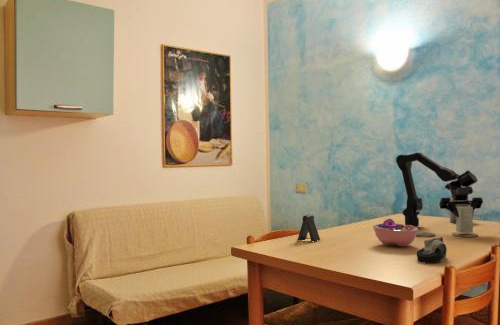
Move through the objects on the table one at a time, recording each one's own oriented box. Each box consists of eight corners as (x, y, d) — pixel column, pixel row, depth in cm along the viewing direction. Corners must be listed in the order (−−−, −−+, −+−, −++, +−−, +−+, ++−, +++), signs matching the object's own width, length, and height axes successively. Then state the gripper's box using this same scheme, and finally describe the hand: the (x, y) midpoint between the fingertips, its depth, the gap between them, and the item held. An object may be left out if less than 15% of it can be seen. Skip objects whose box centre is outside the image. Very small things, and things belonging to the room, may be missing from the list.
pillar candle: (472, 223, 238) (471, 196, 238) (454, 224, 238) (453, 197, 238) (463, 221, 248) (463, 195, 248) (446, 221, 248) (446, 195, 248)
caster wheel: (423, 270, 155) (414, 259, 165) (456, 264, 154) (445, 253, 164) (419, 253, 154) (410, 243, 164) (452, 246, 153) (441, 236, 163)
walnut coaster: (451, 236, 203) (451, 235, 203) (453, 232, 213) (453, 231, 213) (477, 238, 198) (477, 236, 198) (478, 234, 207) (478, 232, 207)
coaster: (409, 236, 207) (409, 234, 207) (412, 232, 216) (412, 231, 216) (433, 237, 201) (433, 236, 201) (436, 233, 211) (436, 232, 211)
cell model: (399, 252, 173) (398, 224, 173) (364, 244, 191) (364, 218, 191) (428, 247, 181) (428, 220, 181) (392, 239, 199) (392, 215, 199)
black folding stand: (320, 240, 202) (319, 214, 202) (314, 242, 198) (314, 216, 197) (303, 238, 208) (302, 213, 207) (297, 240, 203) (296, 215, 203)
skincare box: (469, 231, 207) (469, 206, 207) (473, 232, 203) (473, 207, 202) (455, 231, 208) (455, 206, 208) (459, 232, 203) (459, 207, 203)
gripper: (440, 181, 210) (448, 206, 199) (481, 180, 207) (491, 206, 197) (436, 195, 218) (443, 220, 207) (475, 195, 215) (484, 220, 205)
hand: (465, 217), depth 204 cm, fingers closed on skincare box, 6 cm apart
